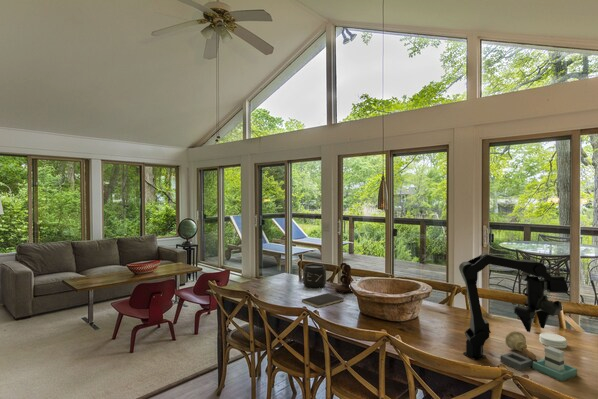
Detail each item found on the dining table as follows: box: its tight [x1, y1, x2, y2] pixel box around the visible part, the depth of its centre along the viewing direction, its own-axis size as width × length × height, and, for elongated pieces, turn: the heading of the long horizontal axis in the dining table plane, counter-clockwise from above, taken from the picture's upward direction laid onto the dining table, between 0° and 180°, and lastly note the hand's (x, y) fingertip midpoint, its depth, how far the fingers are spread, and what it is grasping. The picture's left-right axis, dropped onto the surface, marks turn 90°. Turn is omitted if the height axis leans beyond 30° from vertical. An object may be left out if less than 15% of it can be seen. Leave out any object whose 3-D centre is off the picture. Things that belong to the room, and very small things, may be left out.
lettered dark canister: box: [302, 263, 327, 290], centre depth 255 cm, size 18×18×16 cm
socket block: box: [499, 351, 534, 372], centre depth 134 cm, size 8×8×2 cm
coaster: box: [539, 332, 568, 350], centre depth 152 cm, size 10×10×4 cm
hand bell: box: [504, 330, 538, 362], centre depth 139 cm, size 8×8×16 cm
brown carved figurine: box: [335, 262, 352, 294], centre depth 241 cm, size 15×15×20 cm
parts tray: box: [532, 357, 578, 382], centre depth 127 cm, size 10×10×2 cm
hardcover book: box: [301, 292, 345, 309], centre depth 217 cm, size 16×23×2 cm
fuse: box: [544, 346, 565, 373], centre depth 127 cm, size 3×5×8 cm, turn 25°
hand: (535, 329), depth 136 cm, fingers open, 9 cm apart
